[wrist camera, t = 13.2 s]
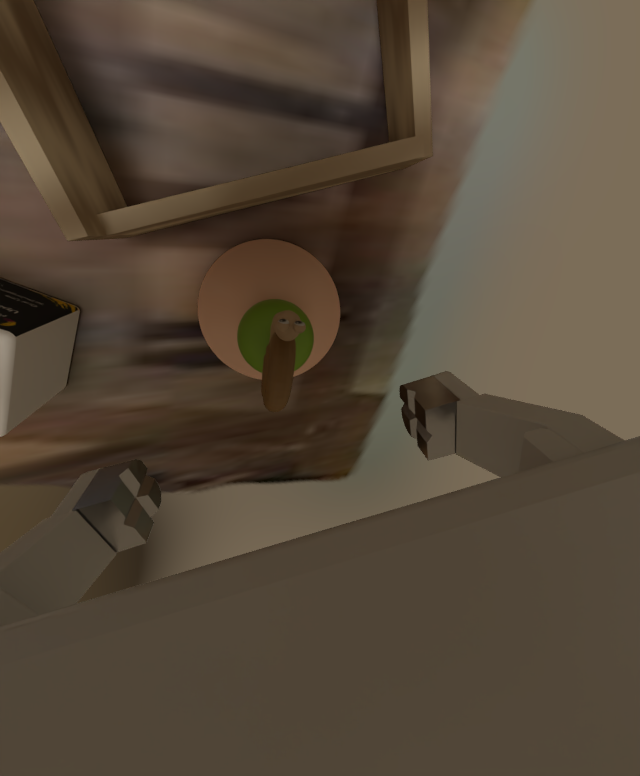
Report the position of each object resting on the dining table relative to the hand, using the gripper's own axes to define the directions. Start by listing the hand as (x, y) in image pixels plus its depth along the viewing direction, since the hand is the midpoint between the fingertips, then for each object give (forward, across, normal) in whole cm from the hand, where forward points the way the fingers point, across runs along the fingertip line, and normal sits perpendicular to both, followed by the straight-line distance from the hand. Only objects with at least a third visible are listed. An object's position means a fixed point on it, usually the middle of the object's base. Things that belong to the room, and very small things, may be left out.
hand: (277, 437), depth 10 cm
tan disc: (+17, 0, +1) cm, 17 cm away
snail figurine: (+16, 0, +1) cm, 17 cm away
